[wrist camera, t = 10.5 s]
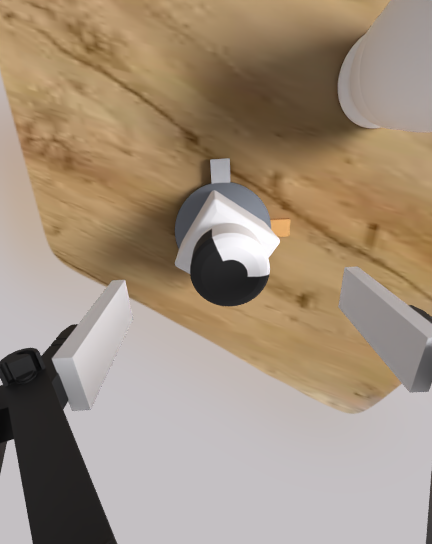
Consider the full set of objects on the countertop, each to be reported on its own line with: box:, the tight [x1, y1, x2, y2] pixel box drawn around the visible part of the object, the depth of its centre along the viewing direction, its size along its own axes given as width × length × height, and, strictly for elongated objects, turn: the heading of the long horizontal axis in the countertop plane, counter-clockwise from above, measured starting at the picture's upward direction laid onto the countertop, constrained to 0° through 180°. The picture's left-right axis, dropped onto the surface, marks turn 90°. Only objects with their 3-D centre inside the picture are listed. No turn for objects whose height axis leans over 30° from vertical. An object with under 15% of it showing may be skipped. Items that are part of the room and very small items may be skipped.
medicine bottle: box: [175, 190, 280, 306], centre depth 25 cm, size 7×7×12 cm
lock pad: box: [175, 158, 290, 249], centre depth 31 cm, size 16×13×1 cm
